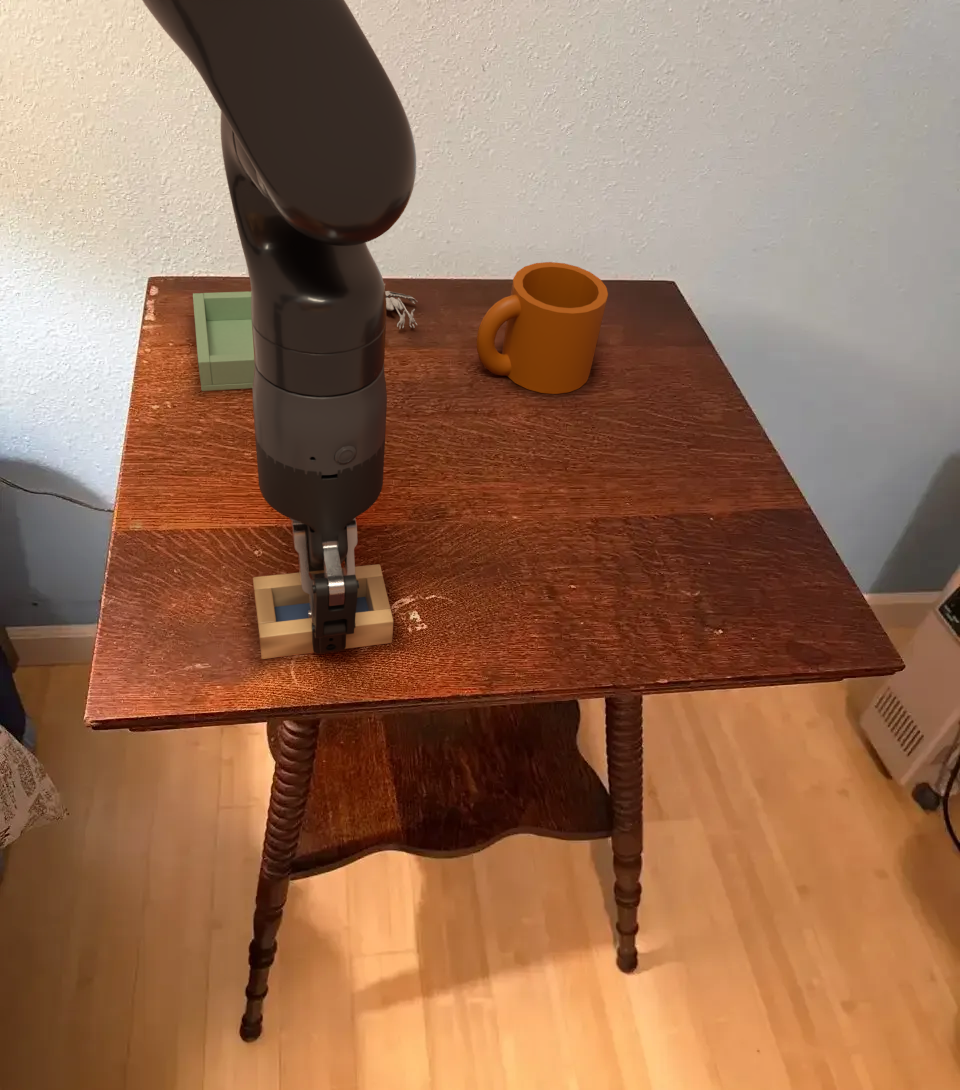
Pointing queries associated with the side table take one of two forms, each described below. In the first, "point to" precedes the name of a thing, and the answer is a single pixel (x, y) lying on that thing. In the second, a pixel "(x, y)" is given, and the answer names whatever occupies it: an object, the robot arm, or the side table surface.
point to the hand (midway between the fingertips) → (323, 614)
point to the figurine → (400, 307)
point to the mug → (545, 328)
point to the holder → (224, 340)
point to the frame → (291, 626)
